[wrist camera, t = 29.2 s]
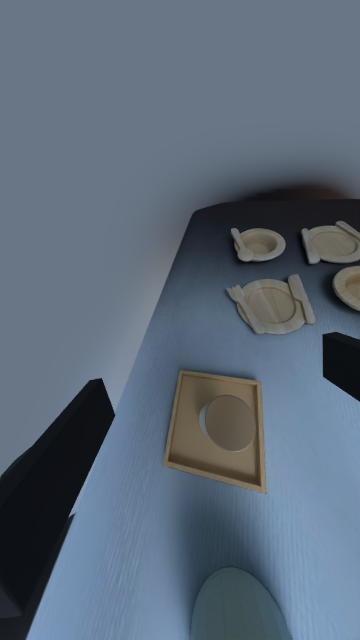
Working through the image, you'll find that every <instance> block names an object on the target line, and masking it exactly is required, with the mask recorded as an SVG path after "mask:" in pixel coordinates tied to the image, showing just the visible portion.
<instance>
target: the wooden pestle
mask: <svg viewBox="0 0 360 640" xmlns="http://www.w3.org/2000/svg"><path fill="white" fill-rule="evenodd" d="M199 423H200V427H201V430H202V431H203V433H204V434H205V435H206V436H207V437H208V438H210V439H211V440H212V441H213V442H214V443H215V444H216V445H217V446H218V447H220V448H221V449H223V450H225V451H228V452H240V451H243V450H245V449H246V448H247V447H249V446H250V444H251V443H252V441H253V439H254V437H255V433H256V422H255V418H254V415H253V413H252V411H251V409H250V408H249V406H248V405H247V404H246V403H245V402H244V401H243V400H241V399H240V398H238V397H236V396H232V395H221V396H218V397H216V398H215V399H213V400H212V401H211V402H209V403H207V404H206V405H205V406H204V407H203V408H202V409H201V412H200V415H199Z"/></svg>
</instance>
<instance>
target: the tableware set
mask: <svg viewBox="0 0 360 640" xmlns="http://www.w3.org/2000/svg"><path fill="white" fill-rule="evenodd" d="M335 225H336V226H321V227H317V228H314V229H311V230H309V231H308V229H302V231H301V235H302V238H303V240H302V242H303V246H304V248H305V250H306V255H307V259H308V263H309V264H316V263H318V262H319V261H320V259H321V260H323V261H327V262H331V263H352V262H355V261H358V260H360V233H358V232H357V231H356V230H354V229H353V228H352V227H350V226H349V225H348V224H346V223H345V222H343V221H338V222H336V224H335ZM231 234H232V236H233V238H234V240H235V243H234V246H235V249H236V251H237V252H238V258H239V259H240V260H242V261H245V262H247V261H254V262H260V261H264V260H270V259H273V258H275V257H277V256H279V255H280V254H281V253H282V252H283V251H284V249H285V240H284V239H283V237H282V236H281V235H279V234H278V233H276V232H274V231H271V230H268V229H259V228H258V229H251V230H247V231H245V232H243V233H241V234H239V231H238V230H237V229H236V228H233V229H231ZM332 285H333V289H334V291H335V293H336V295H337V296H338V297H339V298H340V299H341V300H342V301H343V302H344V303H345V304H347V305H348V306H350V307H351V308H353V309H356V310H358V311H360V266H352V267H348V268H345V269H343V270H341V271H339V272H338V273H337V274H336V275H335V277H334V279H333V282H332ZM235 286H236V287H234V286H232V287H231V288H232V289H230V288H227V289H226V290H227V292H228V294H229V296H230V297H231V299H232V300H233V301H235V302H237V309H238V312H239V314H240V316H241V317H242V318H243V320H244V321H245V322H246V323H247V324H249V325H250V326H251V327H252V329H253V330H254V332H255V333H256V334H258V335H261V334H263V333H268V334H273V335H282V334H287V333H291V332H293V331H295V330H297V329H299V328H300V327H301V326H302V325H303V324H304V323H305V322H306V323H307V324H309V325H313V324H314V323H315V322H316V319H315V316H314V313H313V311H312V308H311V306H310V303H309V300H308V298H307V295H306V293H305V290H304V288H303V285H302V283H301V280H300V277H299V275H298V274H294V275H291V276H289V278H288V283H285V282H282V281H278V280H273V279H261V280H256V281H253V282H251V283H249V284H247V285H246V286H245V287H243V288H242V289H241V287H240V286H239V285H235Z"/></svg>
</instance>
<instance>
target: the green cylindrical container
mask: <svg viewBox="0 0 360 640" xmlns="http://www.w3.org/2000/svg"><path fill="white" fill-rule="evenodd" d="M190 640H292V637H291V635H290V633H289V630H288V628H287V625H286V623H285V621H284V618H283V616H282V614H281V612H280V610H279V608H278V606H277V604H276V603H275V601H274V599H273V598H272V596H271V595H270V593H269V592H268V591H267V589H266V588H265V587H264V586H263V585H262V584H261V583H260V582H259V581H258V580H257V579H256V578H255V577H254V576H252V575H251V574H249V573H248V572H246V571H244V570H242V569H238V568H233V567H227V568H222V569H219V570H217V571H216V572H214V573H213V574H211V575H210V576H209V577H208V578H207V580H206V581H205V582H204V584H203V585H202V587H201V589H200V591H199V593H198V596H197V599H196V602H195V605H194V610H193V615H192V621H191V632H190Z"/></svg>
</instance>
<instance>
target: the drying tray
mask: <svg viewBox="0 0 360 640" xmlns="http://www.w3.org/2000/svg"><path fill="white" fill-rule="evenodd" d="M221 395H232V396H236V397H238V398H240V399H241V400H243V401H244V402H245V403H246V404H247V405H248V406H249V408H250V409H251V411H252V413H253V415H254V418H255V422H256V433H255V437H254V439H253V441H252V443H251V444H250V446H249V447H247V448H246V449H245V450H243V451H240V452H228V451H225V450H223V449H221V448H220V447H218V446H217V445H216V444H215V443H214V442H213V441H212V440H211V439H210V438H208V437H207V436H206V435H205V434H204V433H203V431H202V430H201V427H200V423H199V415H200V412H201V409H202V408H203V407H204V406H205V405H206V404H207V403H209V402H211V401H212V400H213V399H215V398H216V397H218V396H221ZM163 466H167V467H170V468H173V469H177V470H181V471H184V472H188V473H192V474H195V475H199V476H202V477H206V478H210V479H213V480H217V481H220V482H224V483H228V484H231V485H235V486H239V487H242V488H246V489H249V490H253V491H257V492H260V493H264V494H267V493H266V473H265V454H264V434H263V415H262V395H261V381H255V380H248V379H242V378H235V377H228V376H221V375H214V374H207V373H200V372H193V371H186V370H179V375H178V381H177V387H176V392H175V398H174V404H173V410H172V415H171V421H170V427H169V432H168V438H167V444H166V449H165V455H164V461H163Z"/></svg>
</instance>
